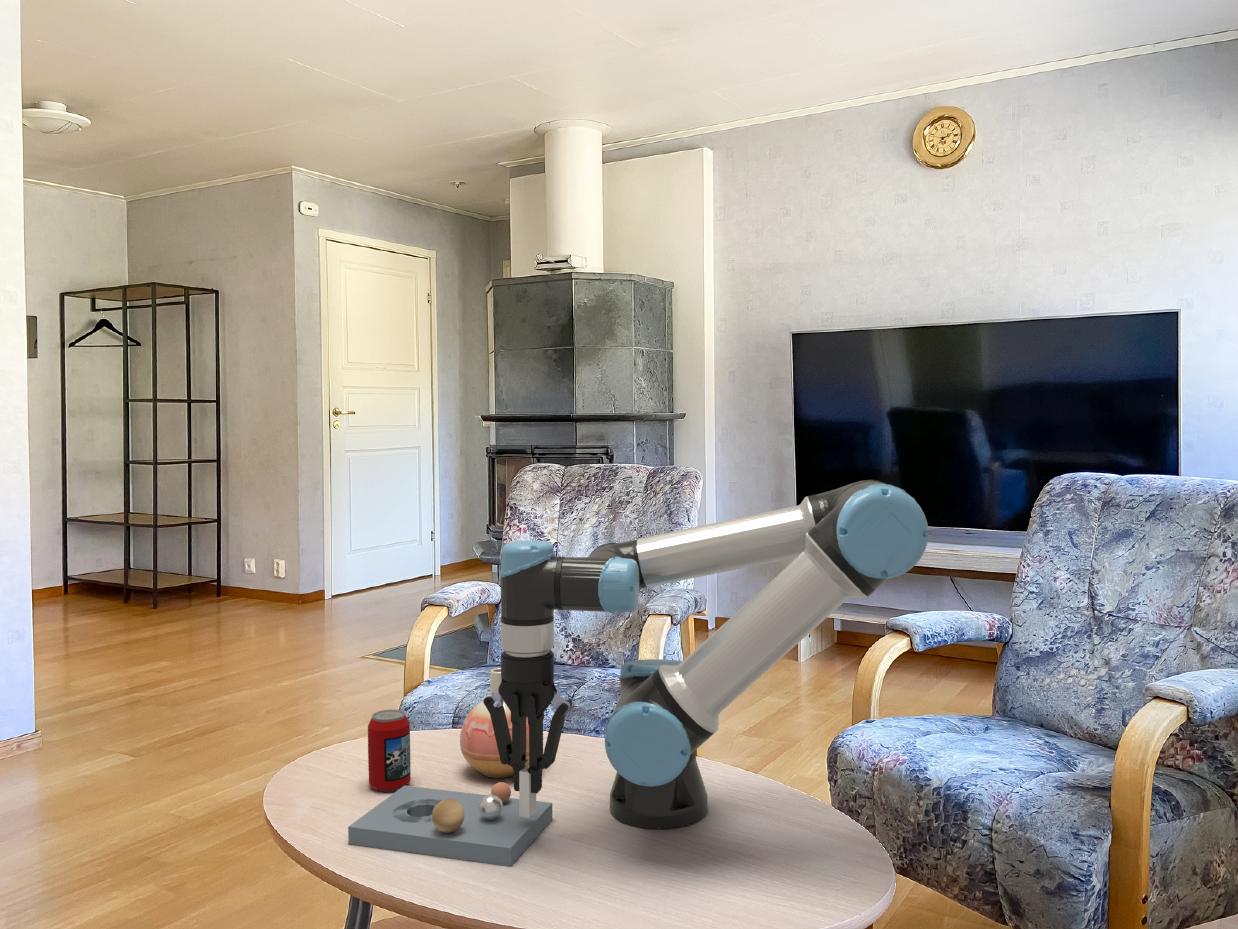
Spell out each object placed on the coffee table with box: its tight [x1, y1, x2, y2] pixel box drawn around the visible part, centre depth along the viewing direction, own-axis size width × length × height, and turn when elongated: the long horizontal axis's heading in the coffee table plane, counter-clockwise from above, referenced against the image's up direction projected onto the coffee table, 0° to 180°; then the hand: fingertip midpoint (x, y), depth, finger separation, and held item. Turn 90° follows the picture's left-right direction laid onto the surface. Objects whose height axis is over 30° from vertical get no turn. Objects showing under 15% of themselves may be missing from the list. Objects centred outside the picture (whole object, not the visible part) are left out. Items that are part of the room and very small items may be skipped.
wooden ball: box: [432, 799, 464, 833], centre depth 135 cm, size 4×4×4 cm
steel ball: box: [478, 793, 503, 820], centre depth 140 cm, size 4×4×4 cm
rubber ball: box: [490, 781, 512, 803], centre depth 146 cm, size 3×3×3 cm
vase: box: [459, 667, 529, 779], centre depth 165 cm, size 14×14×18 cm
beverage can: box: [367, 709, 412, 793], centre depth 159 cm, size 7×7×12 cm
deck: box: [347, 785, 553, 867], centre depth 141 cm, size 25×16×2 cm, turn 73°
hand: (527, 813), depth 138 cm, fingers closed
